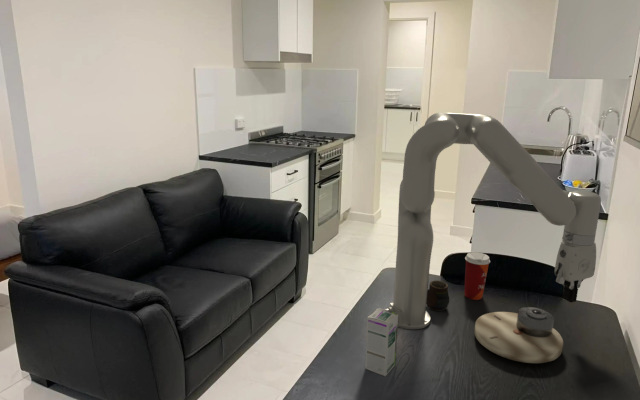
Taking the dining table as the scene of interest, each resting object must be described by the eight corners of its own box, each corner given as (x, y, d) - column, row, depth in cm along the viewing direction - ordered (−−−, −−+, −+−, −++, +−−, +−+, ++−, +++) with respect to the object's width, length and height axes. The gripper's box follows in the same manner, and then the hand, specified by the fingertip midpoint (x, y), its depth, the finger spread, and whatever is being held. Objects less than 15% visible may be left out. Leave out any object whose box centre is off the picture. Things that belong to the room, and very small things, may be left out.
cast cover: (533, 340, 125) (536, 322, 124) (509, 323, 133) (511, 306, 132) (559, 333, 129) (562, 316, 127) (534, 317, 137) (536, 301, 135)
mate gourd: (440, 300, 153) (443, 271, 150) (453, 312, 146) (457, 282, 143) (420, 303, 151) (423, 274, 148) (433, 315, 144) (436, 285, 141)
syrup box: (386, 377, 115) (389, 323, 111) (364, 368, 118) (366, 316, 114) (395, 365, 120) (399, 313, 116) (374, 357, 123) (377, 306, 119)
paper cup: (487, 302, 152) (492, 261, 148) (462, 299, 154) (466, 259, 150) (484, 291, 160) (488, 252, 156) (460, 289, 161) (464, 250, 157)
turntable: (514, 370, 116) (515, 363, 115) (458, 325, 136) (458, 318, 135) (581, 353, 124) (582, 346, 123) (519, 312, 143) (520, 306, 143)
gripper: (569, 246, 122) (559, 311, 127) (611, 238, 127) (600, 301, 132) (546, 236, 129) (537, 298, 134) (587, 229, 134) (577, 289, 139)
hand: (569, 299), depth 133 cm, fingers closed
